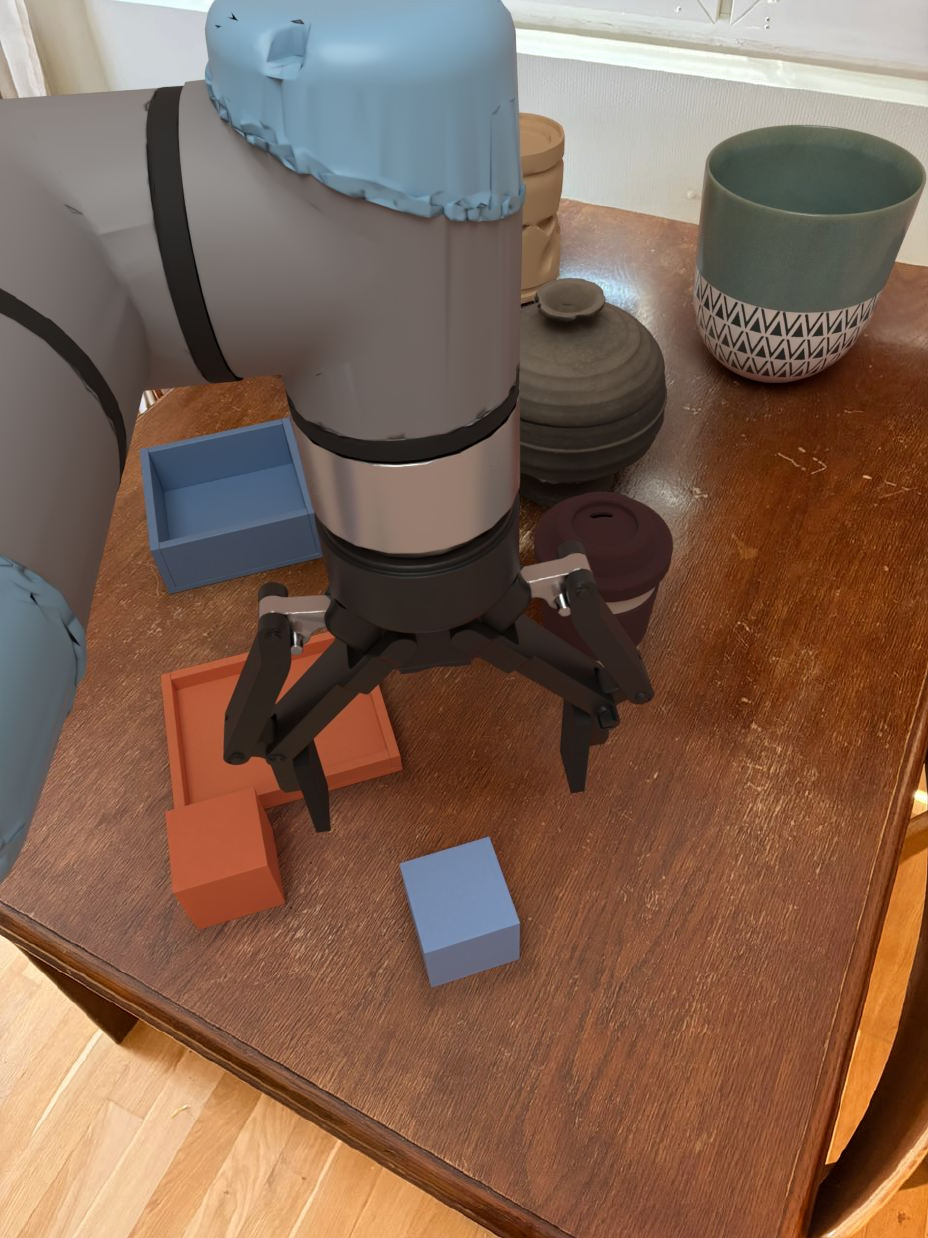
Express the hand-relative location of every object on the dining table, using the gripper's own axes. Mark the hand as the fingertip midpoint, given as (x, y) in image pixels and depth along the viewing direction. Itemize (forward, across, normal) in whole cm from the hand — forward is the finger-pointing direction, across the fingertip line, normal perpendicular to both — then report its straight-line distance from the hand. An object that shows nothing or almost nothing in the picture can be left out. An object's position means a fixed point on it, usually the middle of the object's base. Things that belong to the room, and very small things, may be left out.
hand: (448, 790), depth 48 cm
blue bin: (+16, +16, -42) cm, 48 cm away
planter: (+16, -43, -57) cm, 73 cm away
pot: (+16, -17, -43) cm, 49 cm away
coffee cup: (+16, -14, -20) cm, 29 cm away
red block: (+16, +15, -5) cm, 23 cm away
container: (+16, -18, -80) cm, 84 cm away
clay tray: (+16, +12, -17) cm, 26 cm away
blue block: (+16, 0, +1) cm, 16 cm away
